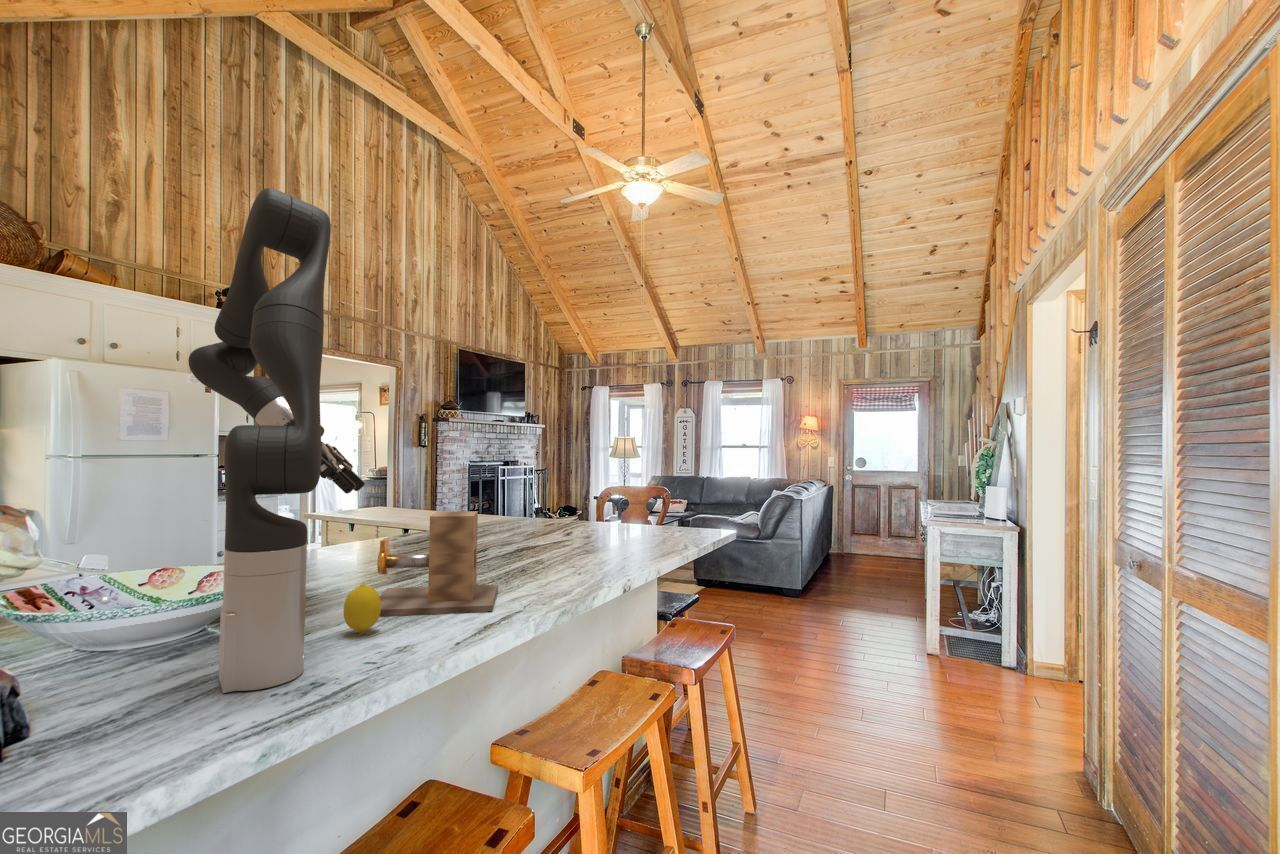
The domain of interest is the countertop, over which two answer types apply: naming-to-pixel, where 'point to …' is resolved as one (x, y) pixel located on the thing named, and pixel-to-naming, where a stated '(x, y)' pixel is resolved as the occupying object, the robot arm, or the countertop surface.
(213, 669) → the countertop surface
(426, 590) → the hitch post
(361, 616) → the lemon
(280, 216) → the robot arm
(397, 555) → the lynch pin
